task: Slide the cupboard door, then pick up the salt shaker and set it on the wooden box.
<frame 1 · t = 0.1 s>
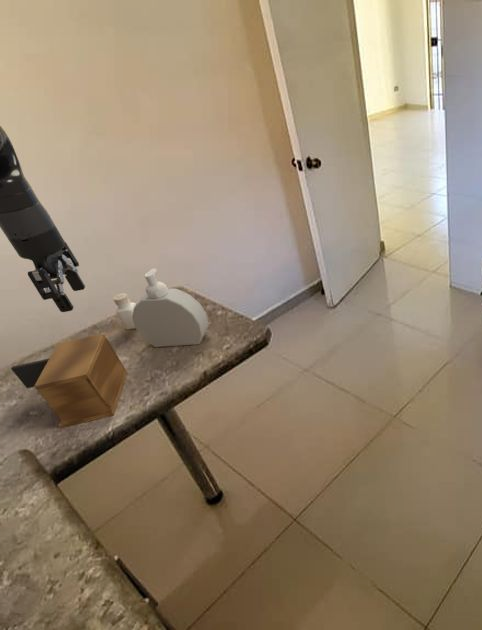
hand: (74, 299, 91), 21 cm above the countertop, tool pointing down, fingers open, 8 cm apart
salt shaker: (135, 325, 120), on the countertop
wooden box: (96, 398, 97), on the countertop
soap bottle: (181, 340, 113), on the countertop
cupboard door: (40, 379, 94), point 6 cm above the countertop, slide at 0.0 cm
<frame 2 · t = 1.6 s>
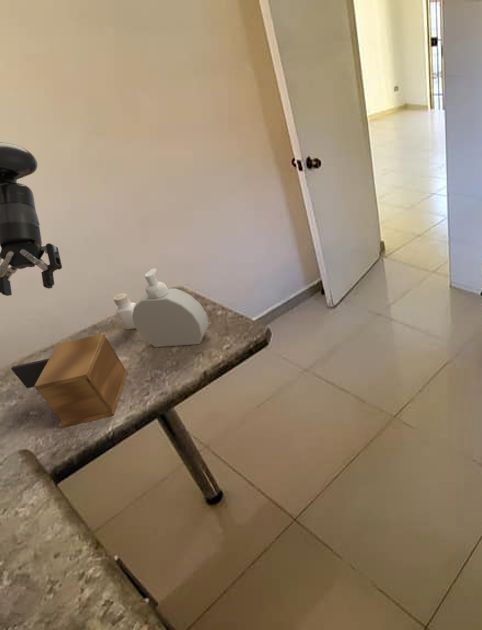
hand: (27, 291, 102), 18 cm above the countertop, tool tilted 45°, fingers open, 8 cm apart
nothing on the countertop moved.
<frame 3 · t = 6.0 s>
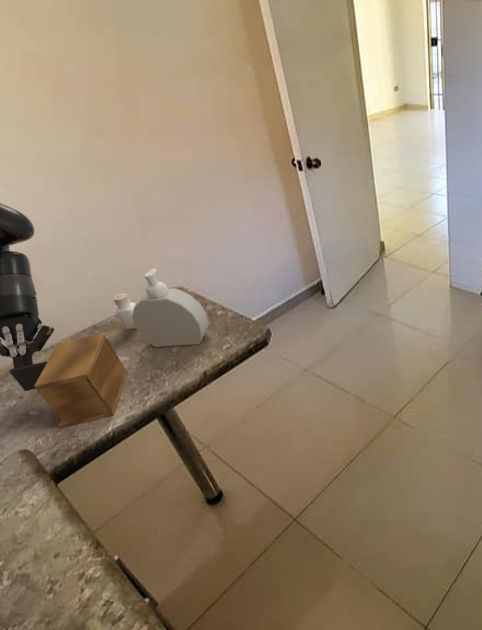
hand: (24, 373, 95), 7 cm above the countertop, tool tilted 45°, fingers closed
cupboard door: (39, 382, 94), point 6 cm above the countertop, slide at 0.9 cm, touching gripper
everything else where it was.
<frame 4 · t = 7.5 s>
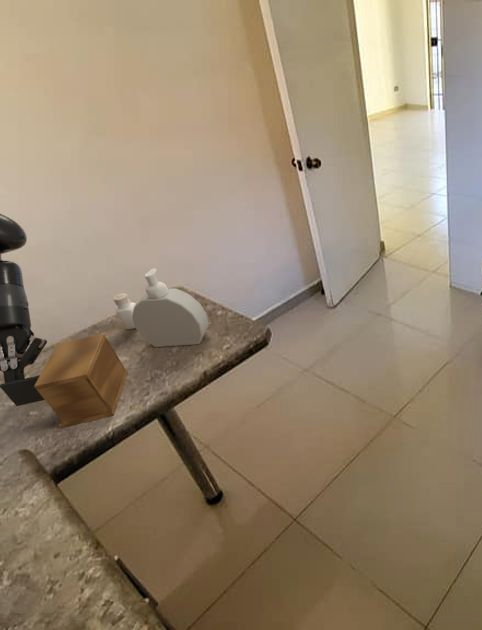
hand: (15, 387, 91), 7 cm above the countertop, tool tilted 45°, fingers closed
cupboard door: (30, 397, 90), point 6 cm above the countertop, slide at 5.6 cm, touching gripper
everything else where it was.
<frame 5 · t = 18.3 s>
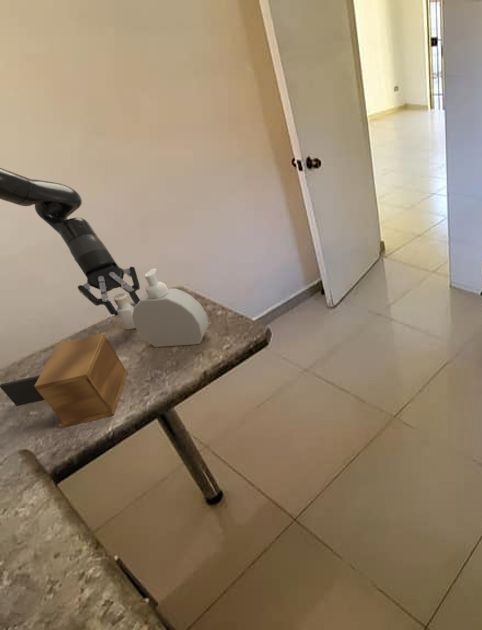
hand: (127, 309, 115), 6 cm above the countertop, tool tilted 45°, fingers closed on salt shaker, 4 cm apart
salt shaker: (135, 325, 120), on the countertop, touching gripper
cupboard door: (30, 397, 90), point 6 cm above the countertop, slide at 5.6 cm
everything else where it was.
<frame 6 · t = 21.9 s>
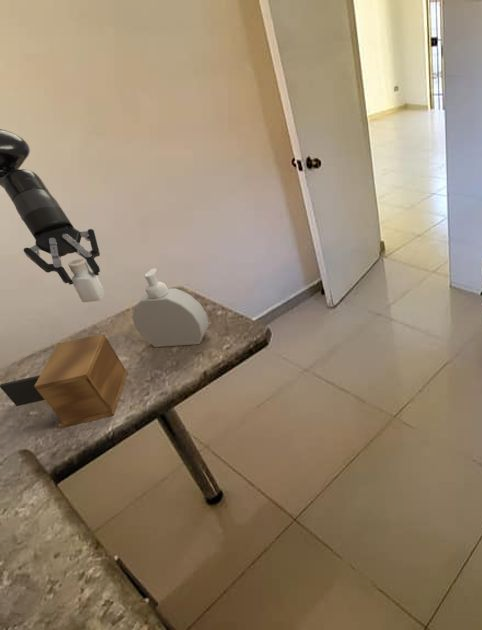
hand: (84, 278, 98), 21 cm above the countertop, tool tilted 45°, fingers closed on salt shaker, 4 cm apart
salt shaker: (94, 298, 103), point 15 cm above the countertop, touching gripper
everything else where it was.
when the fingers open (18 cm above the countertop, at t = 25.6 s): salt shaker stays where it is, resting on wooden box.
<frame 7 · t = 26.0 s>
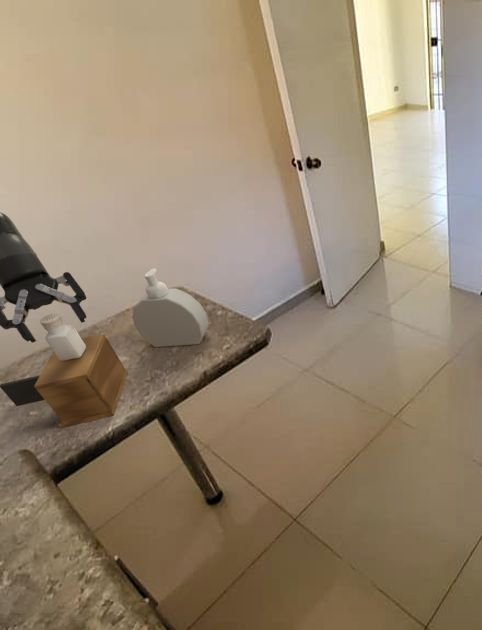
hand: (59, 330, 86), 19 cm above the countertop, tool tilted 45°, fingers open, 8 cm apart
salt shaker: (74, 355, 91), point 12 cm above the countertop, touching wooden box
everything else where it was.
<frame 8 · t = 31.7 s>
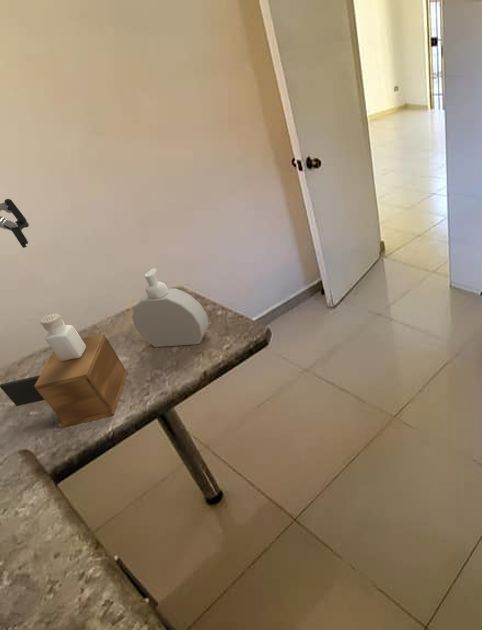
nothing on the countertop moved.
at the end: cupboard door slide at 5.6 cm; salt shaker inside the target area on the wooden box (0.9 cm from its centre), point 11.8 cm above the wooden box's base; salt shaker tilted 0° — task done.
